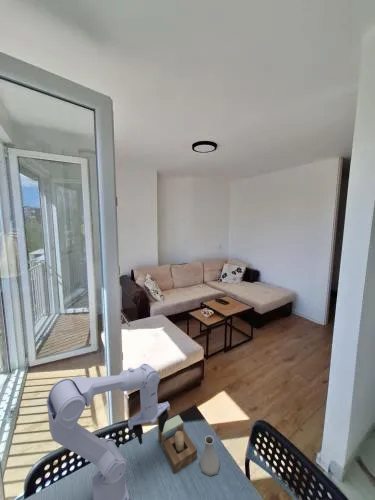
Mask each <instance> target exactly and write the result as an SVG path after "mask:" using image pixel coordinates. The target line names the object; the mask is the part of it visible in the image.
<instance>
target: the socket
mask: <svg viewBox="0 0 375 500" xmlns="http://www.w3.org/2000/svg"><path fill="white" fill-rule="evenodd" d="M182 432H183V435H184V451H182V452H181V453H179V454H178V455H177V453H176V445H175V434H174V435H173V436H171V437H169V438H168V439H165V441H164V442H163V448H162V451H163V452H164V454H165V456H166V458H167V460H168V462H169V464H170V466H171V468H172V470H173V473H174V474H177V473H178V472H179V471H181V470H182V469H185V467H187V466H189V464H191V463H193V462H194V461H196V460H197V459H198V448H196V445H194V443H193V442H192V440H191V437H190V436H189V434H187V432H186V430H185V429H184V430H183V431H182Z"/></svg>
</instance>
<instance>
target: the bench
mask: <svg viewBox="0 0 375 500" xmlns="http://www.w3.org/2000/svg"><path fill="white" fill-rule="evenodd" d="M184 426H185V425H184V421H183V420H182V418H181V416H180V415H179V414H176V415H175V416H174V417H172V418H170V419H169V418H168V419H167V420H166V422H165V425H164V429H163V432H162V433H161V432H160V430H159V426H158V425H157V432H158V433H157V434H158V442H159V443H161V448H162V449H163V442H164V441H166V435H167V434H168V433H170V432H172V431H174V430H176V432H177V431H183V430H185V429H184Z"/></svg>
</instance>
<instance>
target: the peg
mask: <svg viewBox="0 0 375 500" xmlns="http://www.w3.org/2000/svg"><path fill="white" fill-rule="evenodd" d="M174 435H175V445H176V450H175V451H176V453H177V455H178V454H179V453H181V452H182V451H184V435H183V432H182V431H177V430H176V432H175V434H174Z"/></svg>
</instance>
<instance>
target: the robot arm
mask: <svg viewBox="0 0 375 500" xmlns="http://www.w3.org/2000/svg"><path fill="white" fill-rule="evenodd" d="M160 381H161V375H160V374H159V372H158V371H157V370H156V369H154V368H153V367H152V365H150V364H148V363H142V364H141V365H140V366H138V367H136V368H133V367H128V368H127V369H125V370H124V369H123V370H122V371H120V373H119V374H117V375H105V376H104V375H103V376H93V377H85V376H74V377H72V378H68V377H65V378H62V379H60V380H58V381H57V382H55V383H54V384H53V385H52V387H51V388H50V390H49V393H48V396H47V399H46V407H47V414H48V415H47V416H48V427H49V433H50V435H51V438H52V440H53V441H54V442H55V443H57V444H58V445H59V446H62V447H64V448H65V449H68V450H69V451H71V452H73V453H74V454H76V455H78V456H80V457H81V458H83V459H84V460H86V461H87V462H90V463H92V465H94V466H95V467H96V468H97V470H98V472H97V473H96V474H94V475H92V477H91V489H92V498H91V499H92V500H130V494H129V490H128V486H127V484H126V479H125V473H126V472H127V469H128V460H127V459H126V458H124V456H123V454H122V452H121V451H120V449H119V447H117V445H116V443H115V440H114V439H113V438H105V437H101V438H100V437H98V436H97V435H96V434H94V433H92V432H91V431H90V430H88V429H87V428H85V427H84V426H82V425H81V424H79V423H78V422H79V420H80V418H81V416H82V415H83V413H84V410H85V408H88V407H90V405H91V403H92V400H94V397H95V396H96V395H100V394H103V393H107V392H111V391H114V390H117V389H119V390H120V391H121V392H123V393H124V392H129V391H133V390H138V389H139V396H140V397H139V398H140V400H139V401H140V410H139V411H138V412H137V413H136V414H135V415H134V416H132V417H131V418H130V419H128V420H127V424H128V425H127V426H128V429H129V430H133V433H134V434H135V435H136V437H137V440H138V443H139V445H143V438H142V437H143V428H142V427H141V424H142V425H143V424H146V423H147V424H149V423H150V424H151V425H153V424H155V423H156V422H157V421H158V422H157V427H158V426H159V430H160V432H161V433H162V432H163V429H164V425H165V422H166V421H168V420H169V418H170V417H169V413H168V412H169V411H170V410H171V406H170V403H169V401H165V402H162V403H158V387H159V383H160Z"/></svg>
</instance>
